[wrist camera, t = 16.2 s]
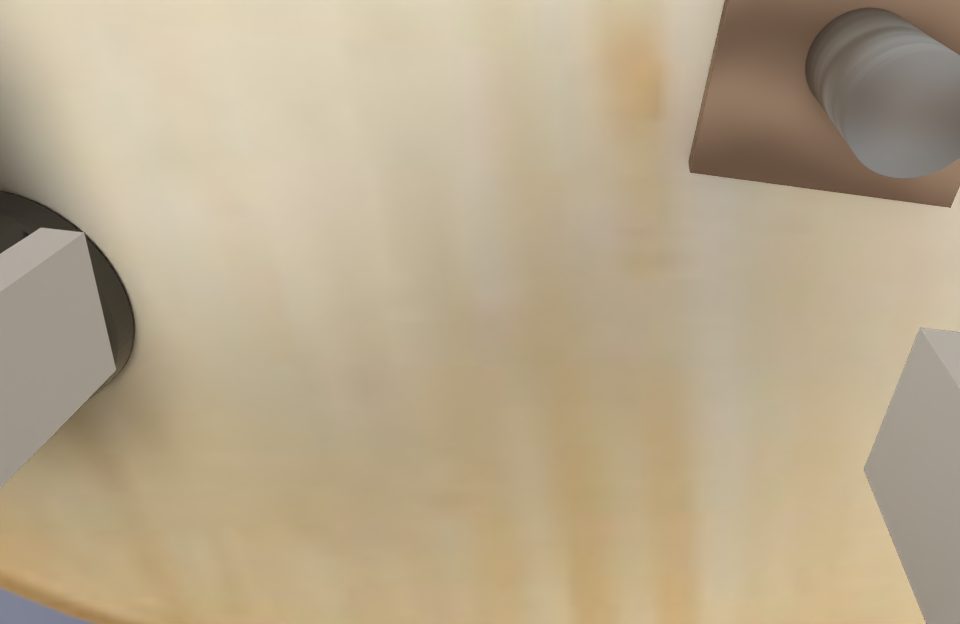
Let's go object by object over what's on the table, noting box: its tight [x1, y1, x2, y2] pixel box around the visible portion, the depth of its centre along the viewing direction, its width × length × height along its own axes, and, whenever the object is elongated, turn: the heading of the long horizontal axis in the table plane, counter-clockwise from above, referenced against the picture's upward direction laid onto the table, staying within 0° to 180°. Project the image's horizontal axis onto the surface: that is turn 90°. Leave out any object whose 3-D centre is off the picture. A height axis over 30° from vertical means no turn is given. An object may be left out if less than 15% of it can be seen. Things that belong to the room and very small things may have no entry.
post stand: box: [689, 0, 960, 208], centre depth 31 cm, size 12×12×10 cm
